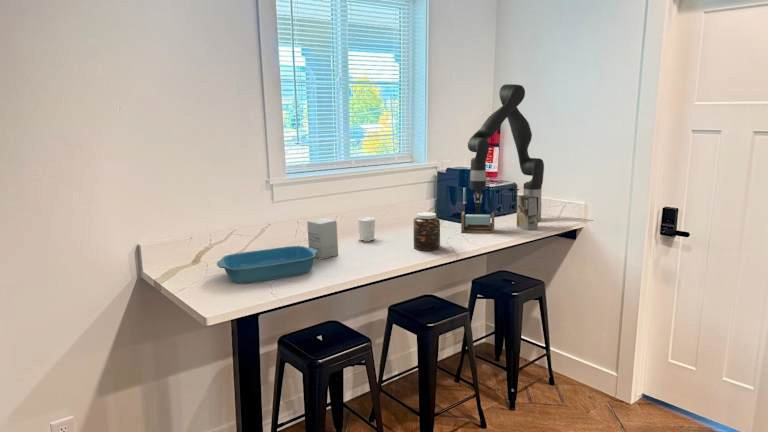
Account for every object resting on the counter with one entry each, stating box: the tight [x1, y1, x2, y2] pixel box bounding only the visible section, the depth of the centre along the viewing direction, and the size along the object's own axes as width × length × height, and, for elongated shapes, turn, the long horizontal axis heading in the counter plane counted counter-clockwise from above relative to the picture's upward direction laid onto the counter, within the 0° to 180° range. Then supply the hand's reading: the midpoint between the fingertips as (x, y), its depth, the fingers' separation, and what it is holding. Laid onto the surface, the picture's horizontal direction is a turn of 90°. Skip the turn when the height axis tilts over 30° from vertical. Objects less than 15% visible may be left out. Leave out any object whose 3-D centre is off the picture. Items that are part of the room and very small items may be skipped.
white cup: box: [357, 216, 376, 242], centre depth 243 cm, size 8×8×10 cm
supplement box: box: [306, 217, 339, 260], centre depth 216 cm, size 9×9×15 cm
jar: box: [413, 211, 441, 252], centre depth 225 cm, size 12×12×15 cm
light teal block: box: [465, 213, 492, 225], centre depth 254 cm, size 5×12×4 cm, turn 79°
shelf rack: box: [460, 211, 495, 235], centre depth 255 cm, size 9×16×9 cm, turn 79°
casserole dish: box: [216, 245, 317, 284], centre depth 194 cm, size 37×22×7 cm, turn 115°
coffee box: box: [516, 195, 539, 231], centre depth 259 cm, size 9×6×16 cm
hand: (478, 212), depth 254 cm, fingers open, 8 cm apart
